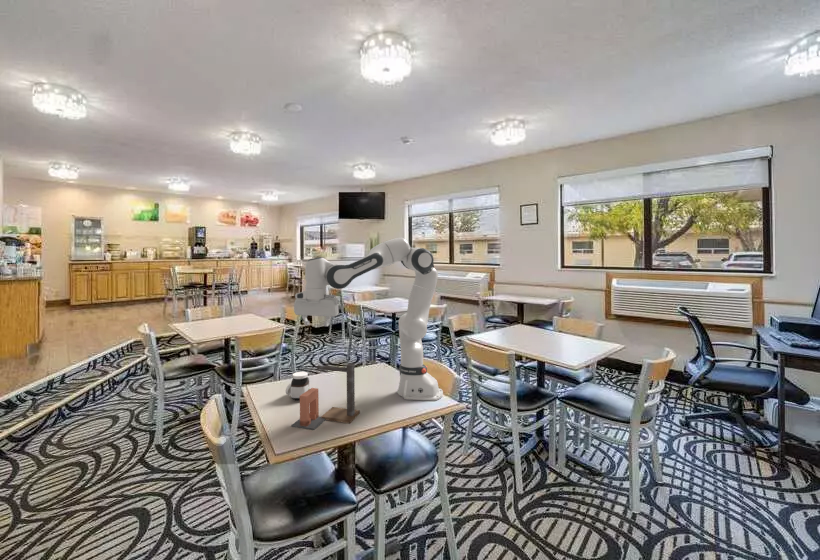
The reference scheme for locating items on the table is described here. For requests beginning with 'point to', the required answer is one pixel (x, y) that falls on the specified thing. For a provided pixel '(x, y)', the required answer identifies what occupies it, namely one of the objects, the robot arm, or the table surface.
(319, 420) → the coaster
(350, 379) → the stand
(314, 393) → the link
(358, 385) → the table surface
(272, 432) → the table surface
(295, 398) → the spread jar
